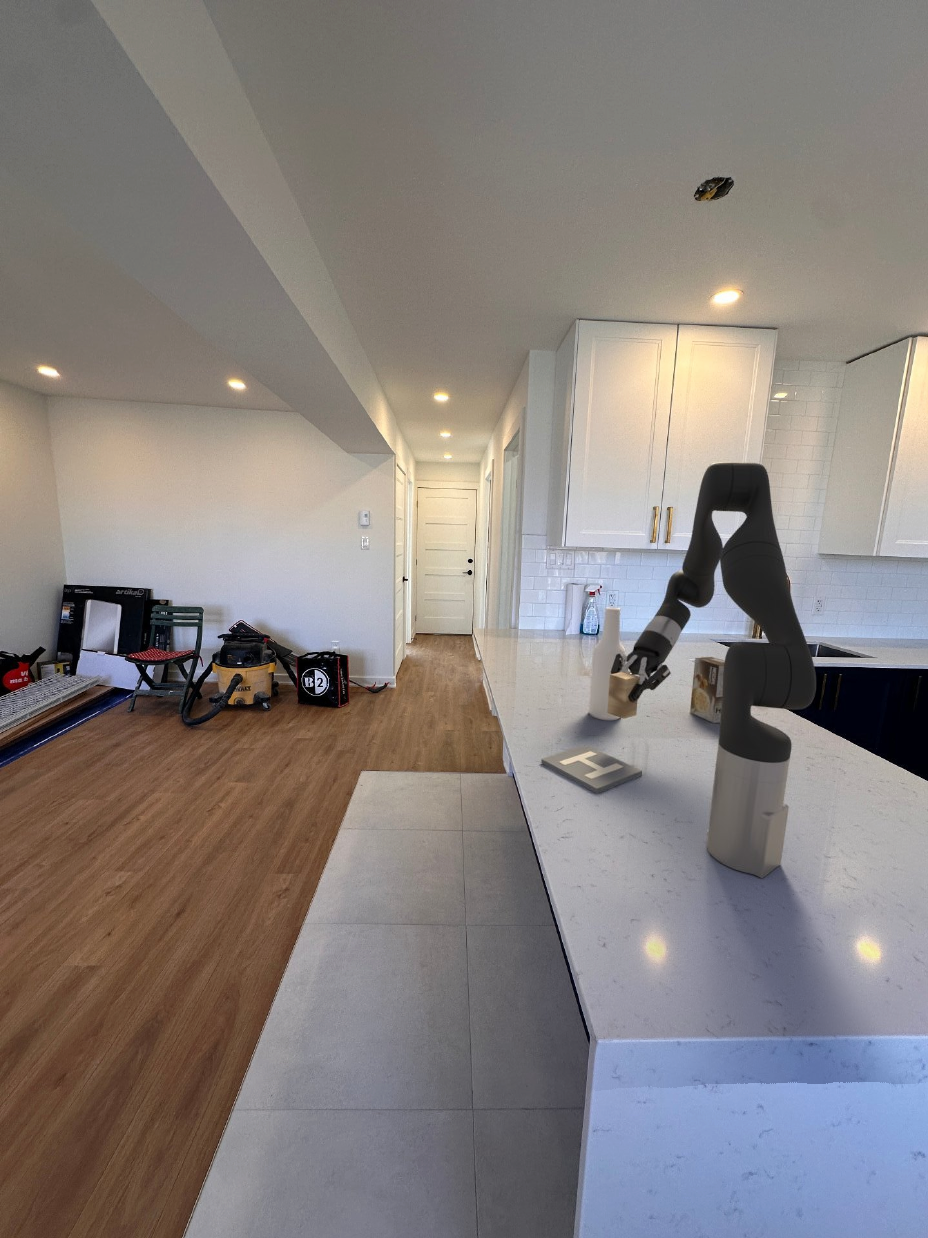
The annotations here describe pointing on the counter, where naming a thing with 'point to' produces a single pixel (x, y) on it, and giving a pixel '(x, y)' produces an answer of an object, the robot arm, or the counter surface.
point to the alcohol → (605, 664)
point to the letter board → (591, 768)
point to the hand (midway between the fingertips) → (621, 696)
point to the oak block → (621, 695)
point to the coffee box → (707, 688)
